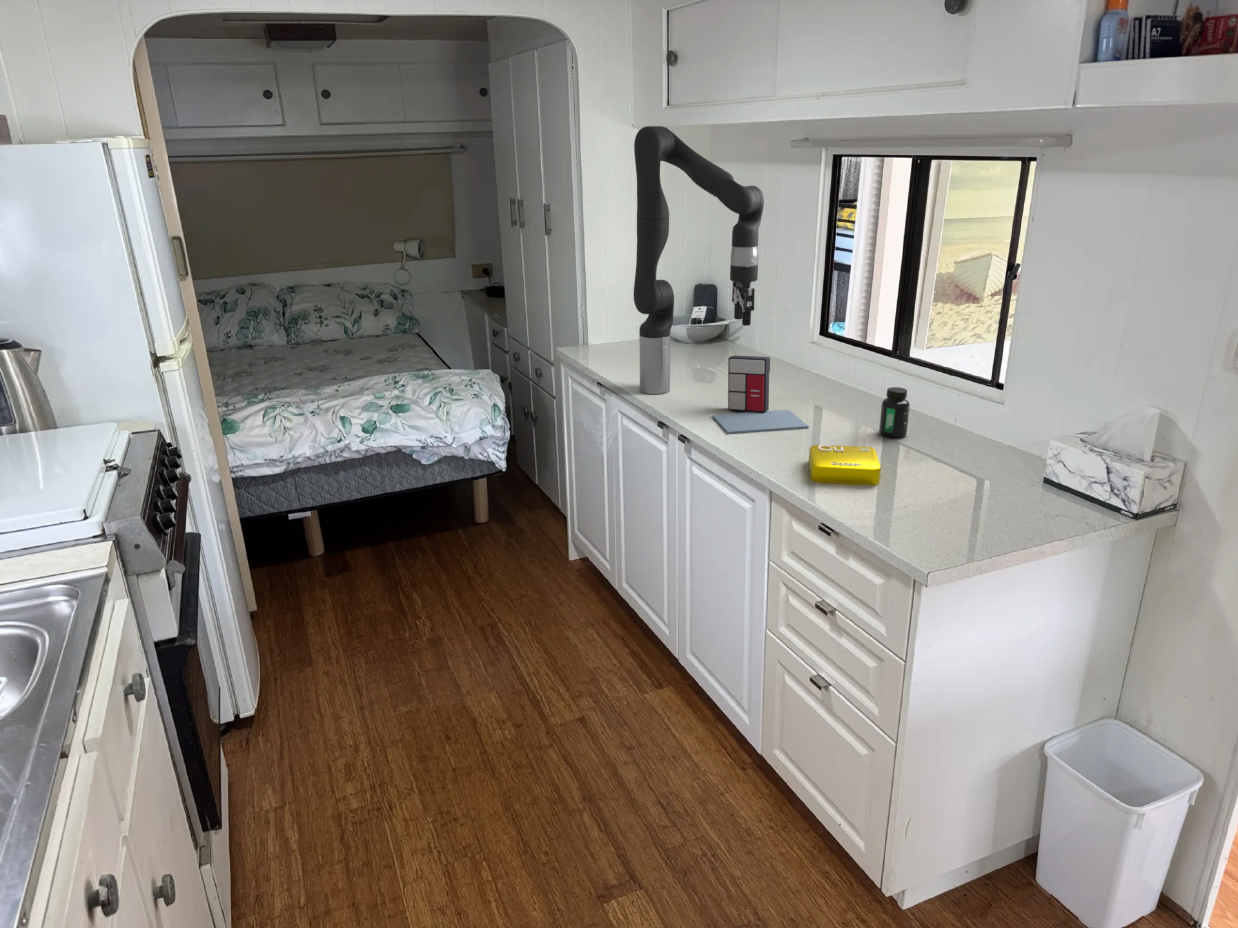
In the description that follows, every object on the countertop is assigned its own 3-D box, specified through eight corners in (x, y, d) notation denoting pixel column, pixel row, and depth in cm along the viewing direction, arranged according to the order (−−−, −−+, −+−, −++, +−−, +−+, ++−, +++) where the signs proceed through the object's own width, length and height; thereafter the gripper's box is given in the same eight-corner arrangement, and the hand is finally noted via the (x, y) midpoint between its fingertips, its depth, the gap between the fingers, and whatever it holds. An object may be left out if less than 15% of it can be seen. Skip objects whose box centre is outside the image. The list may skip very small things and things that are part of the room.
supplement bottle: (890, 440, 216) (895, 394, 212) (873, 432, 222) (877, 387, 218) (912, 436, 219) (917, 391, 214) (894, 429, 225) (899, 384, 220)
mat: (712, 417, 237) (712, 414, 237) (788, 411, 240) (788, 409, 240) (727, 434, 223) (728, 431, 223) (808, 428, 226) (808, 426, 226)
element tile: (810, 484, 191) (812, 464, 189) (808, 461, 205) (809, 442, 203) (880, 487, 189) (882, 467, 187) (873, 463, 202) (874, 444, 201)
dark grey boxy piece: (726, 410, 241) (727, 357, 237) (732, 407, 245) (732, 355, 241) (764, 413, 236) (765, 359, 232) (769, 410, 240) (770, 357, 236)
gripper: (724, 260, 239) (722, 317, 245) (737, 267, 226) (735, 328, 232) (750, 259, 240) (748, 316, 246) (765, 266, 227) (762, 326, 233)
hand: (742, 322), depth 239 cm, fingers open, 8 cm apart
